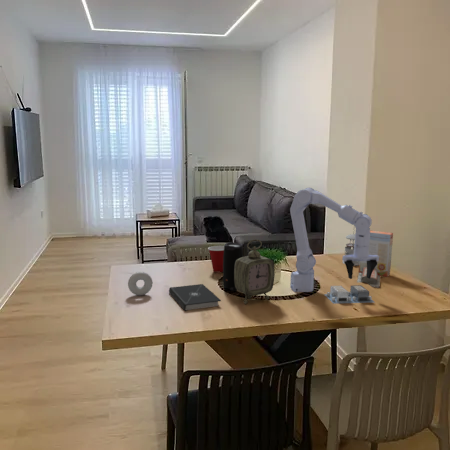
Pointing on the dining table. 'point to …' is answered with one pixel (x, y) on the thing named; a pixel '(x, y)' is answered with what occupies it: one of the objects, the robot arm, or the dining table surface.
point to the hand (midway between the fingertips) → (359, 278)
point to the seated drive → (339, 293)
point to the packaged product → (373, 280)
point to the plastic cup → (217, 257)
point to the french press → (348, 247)
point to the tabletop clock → (254, 274)
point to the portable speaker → (230, 263)
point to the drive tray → (350, 299)
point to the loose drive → (359, 293)
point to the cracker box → (380, 252)
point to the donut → (133, 281)
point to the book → (194, 296)
